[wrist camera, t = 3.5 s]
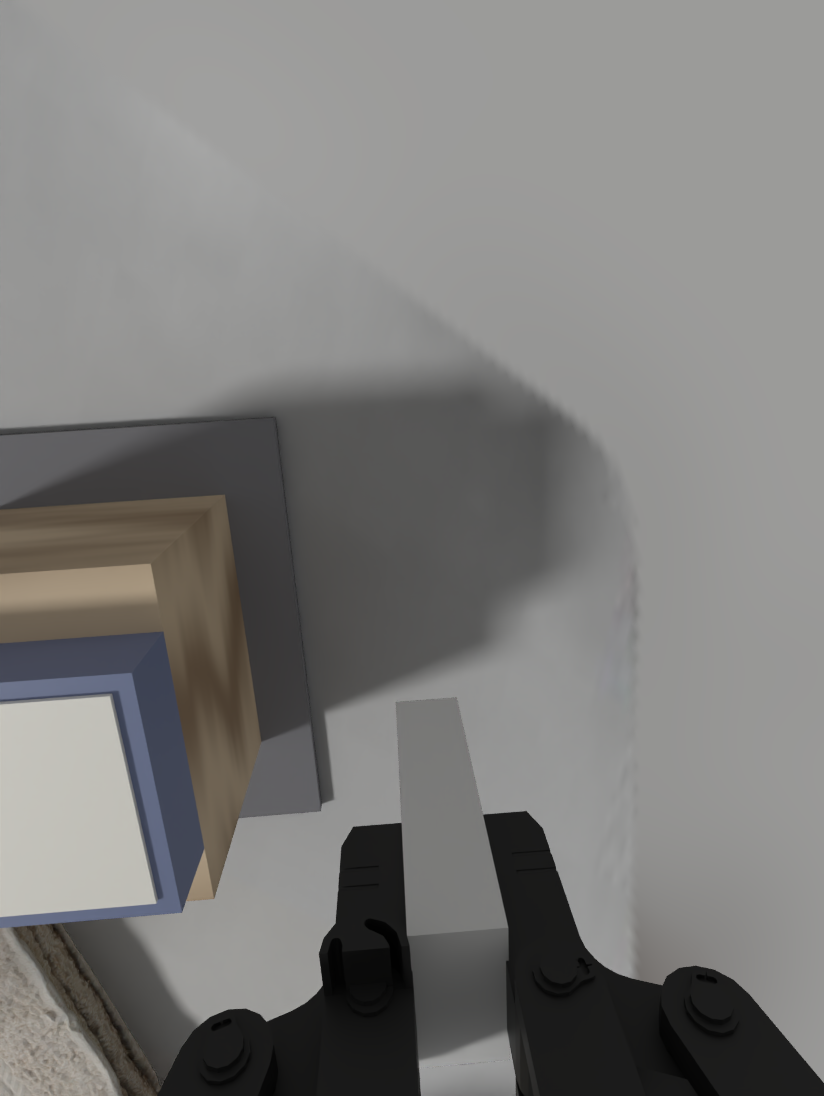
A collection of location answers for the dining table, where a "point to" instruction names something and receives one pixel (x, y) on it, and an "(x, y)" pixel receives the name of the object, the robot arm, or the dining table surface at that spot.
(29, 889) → the card box
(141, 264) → the dining table surface
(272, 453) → the mat
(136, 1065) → the washcloth
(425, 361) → the dining table surface
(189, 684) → the oak block
